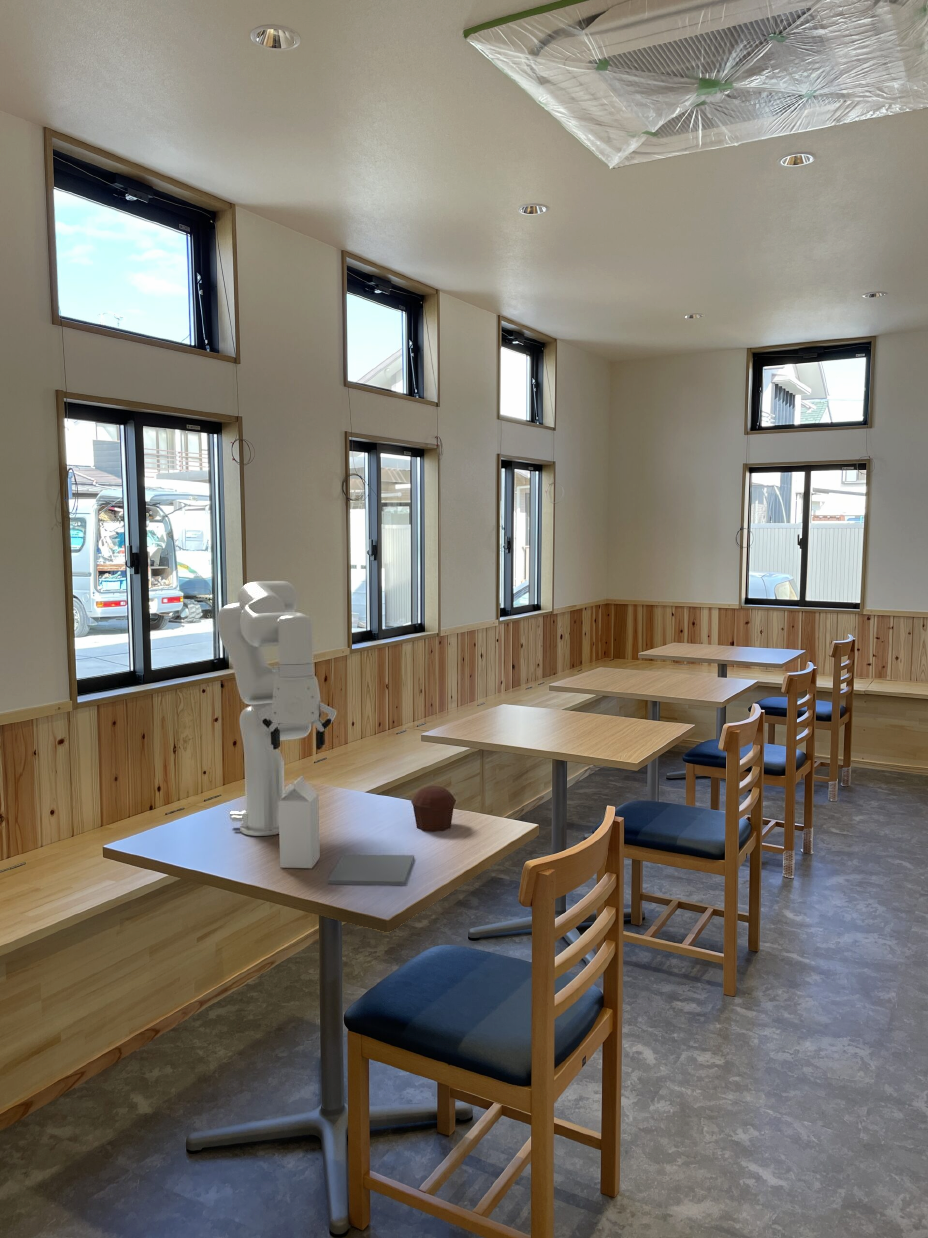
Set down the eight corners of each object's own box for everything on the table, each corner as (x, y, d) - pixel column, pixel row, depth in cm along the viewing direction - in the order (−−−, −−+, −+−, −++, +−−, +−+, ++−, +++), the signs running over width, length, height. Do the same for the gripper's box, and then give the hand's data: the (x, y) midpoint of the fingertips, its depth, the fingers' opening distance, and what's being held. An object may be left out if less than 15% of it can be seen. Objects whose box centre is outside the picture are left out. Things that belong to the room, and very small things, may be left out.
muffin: (461, 831, 219) (461, 791, 218) (418, 835, 216) (417, 795, 215) (448, 817, 230) (448, 780, 230) (407, 822, 227) (406, 783, 227)
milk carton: (320, 858, 200) (318, 775, 199) (311, 869, 193) (309, 783, 192) (289, 857, 201) (287, 775, 200) (279, 868, 194) (277, 783, 193)
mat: (328, 884, 185) (328, 880, 185) (343, 857, 201) (343, 854, 201) (404, 885, 184) (404, 881, 184) (414, 858, 199) (414, 855, 199)
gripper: (252, 673, 191) (254, 752, 192) (331, 673, 190) (333, 752, 191) (262, 669, 198) (264, 744, 199) (338, 669, 197) (340, 745, 198)
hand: (298, 748), depth 195 cm, fingers open, 9 cm apart
